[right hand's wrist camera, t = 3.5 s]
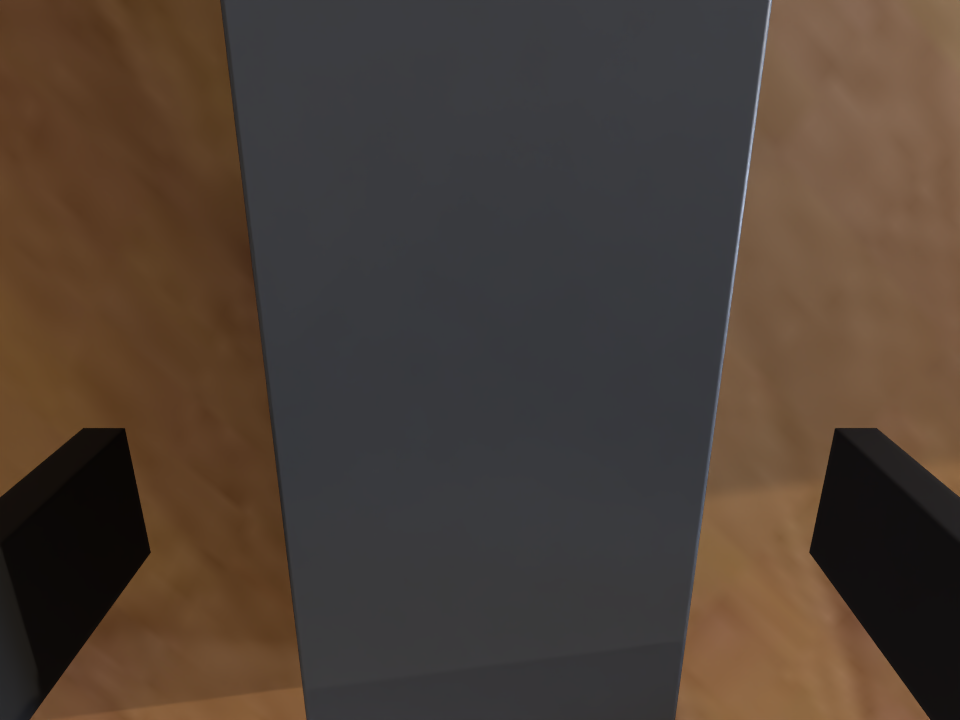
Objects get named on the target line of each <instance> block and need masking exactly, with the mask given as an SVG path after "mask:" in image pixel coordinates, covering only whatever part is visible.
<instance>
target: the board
mask: <svg viewBox="0 0 960 720" xmlns="http://www.w3.org/2000/svg"><path fill="white" fill-rule="evenodd" d="M220 2H221V10H222V19H223V27H224V35H225V44H226V52H227V60H228V69H229V77H230V85H231V94H232V102H233V110H234V119H235V127H236V135H237V143H238V152H239V160H240V168H241V177H242V185H243V193H244V202H245V210H246V218H247V227H248V235H249V243H250V252H251V260H252V268H253V277H254V285H255V293H256V302H257V310H258V318H259V327H260V335H261V343H262V352H263V360H264V368H265V377H266V385H267V393H268V402H269V410H270V418H271V427H272V435H273V443H274V452H275V460H276V468H277V477H278V485H279V493H280V502H281V510H282V518H283V527H284V535H285V543H286V552H287V560H288V568H289V577H290V585H291V593H292V602H293V610H294V618H295V627H296V635H297V643H298V652H299V660H300V668H301V677H302V685H303V693H304V702H305V710H306V718H307V720H675V716H676V708H677V701H678V693H679V686H680V679H681V671H682V664H683V656H684V649H685V642H686V634H687V627H688V619H689V612H690V605H691V597H692V590H693V582H694V575H695V568H696V560H697V553H698V545H699V538H700V530H701V523H702V516H703V508H704V501H705V493H706V486H707V479H708V471H709V464H710V456H711V449H712V442H713V434H714V427H715V419H716V412H717V405H718V397H719V390H720V382H721V375H722V368H723V360H724V353H725V345H726V338H727V331H728V323H729V316H730V308H731V301H732V294H733V286H734V279H735V271H736V264H737V257H738V249H739V242H740V234H741V227H742V220H743V212H744V205H745V197H746V190H747V182H748V175H749V168H750V160H751V153H752V145H753V138H754V131H755V123H756V116H757V108H758V101H759V94H760V86H761V79H762V71H763V64H764V57H765V49H766V42H767V34H768V27H769V20H770V12H771V5H772V0H220Z"/></svg>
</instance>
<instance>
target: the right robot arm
mask: <svg viewBox="0 0 960 720" xmlns="http://www.w3.org/2000/svg"><path fill="white" fill-rule="evenodd" d="M150 553H151V552H150V547H149V542H148V537H147V532H146V528H145V523H144V518H143V513H142V508H141V504H140V499H139V494H138V489H137V484H136V480H135V475H134V470H133V465H132V460H131V456H130V451H129V446H128V441H127V436H126V432H125V428H83V429H82V430H81V431H79V432H78V433H77V434H76V435H75V436H73V437H72V438H71V439H70V440H69V441H67V442H66V443H65V444H64V445H63V446H61V447H60V448H59V449H58V450H57V451H55V452H54V453H53V454H52V455H51V456H49V457H48V458H47V459H46V460H45V461H43V462H42V463H41V464H40V465H39V466H37V467H36V468H35V469H34V470H33V471H31V472H30V473H29V474H28V475H27V476H25V477H24V478H23V479H22V480H21V481H19V482H18V483H17V484H16V485H15V486H13V487H12V488H11V489H10V490H9V491H7V492H6V493H5V494H4V495H3V496H1V497H0V720H30V718H31V717H32V716H33V714H34V713H35V711H36V710H37V709H38V707H39V706H40V704H41V703H42V702H43V700H44V699H45V698H46V696H47V695H48V693H49V692H50V691H51V689H52V688H53V687H54V685H55V684H56V682H57V681H58V680H59V678H60V677H61V675H62V674H63V673H64V671H65V670H66V669H67V667H68V666H69V664H70V663H71V662H72V660H73V659H74V658H75V656H76V655H77V653H78V652H79V651H80V649H81V648H82V647H83V645H84V644H85V642H86V641H87V640H88V638H89V637H90V635H91V634H92V633H93V631H94V630H95V629H96V627H97V626H98V624H99V623H100V622H101V620H102V619H103V618H104V616H105V615H106V613H107V612H108V611H109V609H110V608H111V606H112V605H113V604H114V602H115V601H116V600H117V598H118V597H119V595H120V594H121V593H122V591H123V590H124V589H125V587H126V586H127V584H128V583H129V582H130V580H131V579H132V577H133V576H134V575H135V573H136V572H137V571H138V569H139V568H140V566H141V565H142V564H143V562H144V561H145V560H146V558H147V557H148V555H149V554H150ZM809 553H810V554H811V555H812V557H813V558H814V560H815V561H816V562H817V564H818V565H819V566H820V568H821V569H822V571H823V572H824V573H825V575H826V576H827V577H828V579H829V580H830V582H831V583H832V584H833V586H834V587H835V589H836V590H837V591H838V593H839V594H840V595H841V597H842V598H843V600H844V601H845V602H846V604H847V605H848V606H849V608H850V609H851V611H852V612H853V613H854V615H855V616H856V618H857V619H858V620H859V622H860V623H861V624H862V626H863V627H864V629H865V630H866V631H867V633H868V634H869V635H870V637H871V638H872V640H873V641H874V642H875V644H876V645H877V647H878V648H879V649H880V651H881V652H882V653H883V655H884V656H885V658H886V659H887V660H888V662H889V663H890V664H891V666H892V667H893V669H894V670H895V671H896V673H897V674H898V675H899V677H900V678H901V680H902V681H903V682H904V684H905V685H906V687H907V688H908V689H909V691H910V692H911V693H912V695H913V696H914V698H915V699H916V700H917V702H918V703H919V704H920V706H921V707H922V709H923V710H924V711H925V713H926V714H927V716H928V717H929V718H930V720H960V497H959V496H957V495H956V494H955V493H954V492H953V491H951V490H950V489H949V488H948V487H947V486H945V485H944V484H943V483H942V482H941V481H939V480H938V479H937V478H936V477H935V476H933V475H932V474H931V473H930V472H929V471H927V470H926V469H925V468H924V467H923V466H921V465H920V464H919V463H918V462H917V461H915V460H914V459H913V458H912V457H911V456H909V455H908V454H907V453H906V452H905V451H903V450H902V449H901V448H900V447H899V446H897V445H896V444H895V443H894V442H893V441H891V440H890V439H889V438H888V437H887V436H885V435H884V434H883V433H882V432H881V431H879V430H878V429H877V428H835V432H834V436H833V441H832V446H831V451H830V456H829V460H828V465H827V470H826V475H825V480H824V484H823V489H822V494H821V499H820V504H819V508H818V513H817V518H816V523H815V528H814V532H813V537H812V542H811V547H810V552H809Z"/></svg>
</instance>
